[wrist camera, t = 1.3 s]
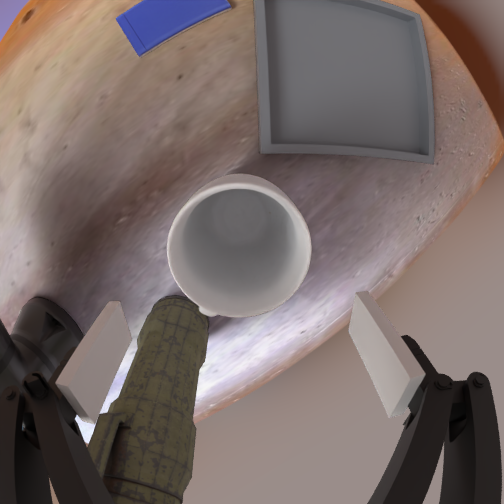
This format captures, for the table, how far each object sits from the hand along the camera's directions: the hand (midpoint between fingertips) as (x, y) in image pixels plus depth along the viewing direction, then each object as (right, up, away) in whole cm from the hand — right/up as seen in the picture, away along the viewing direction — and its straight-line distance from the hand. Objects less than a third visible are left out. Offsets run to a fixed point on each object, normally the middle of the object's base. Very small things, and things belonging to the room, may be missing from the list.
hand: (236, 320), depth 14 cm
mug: (-1, +7, +18) cm, 20 cm away
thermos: (-10, -6, +23) cm, 26 cm away
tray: (+12, +25, +11) cm, 30 cm away
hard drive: (-9, +33, +8) cm, 35 cm away
